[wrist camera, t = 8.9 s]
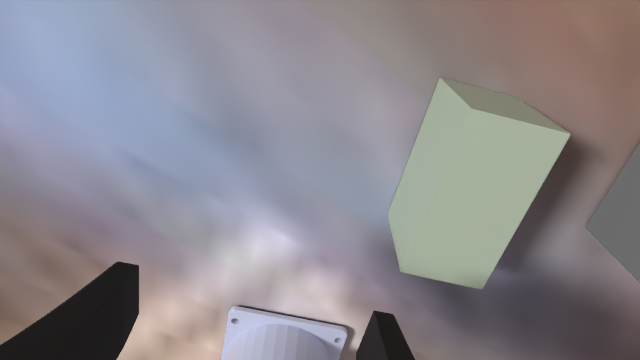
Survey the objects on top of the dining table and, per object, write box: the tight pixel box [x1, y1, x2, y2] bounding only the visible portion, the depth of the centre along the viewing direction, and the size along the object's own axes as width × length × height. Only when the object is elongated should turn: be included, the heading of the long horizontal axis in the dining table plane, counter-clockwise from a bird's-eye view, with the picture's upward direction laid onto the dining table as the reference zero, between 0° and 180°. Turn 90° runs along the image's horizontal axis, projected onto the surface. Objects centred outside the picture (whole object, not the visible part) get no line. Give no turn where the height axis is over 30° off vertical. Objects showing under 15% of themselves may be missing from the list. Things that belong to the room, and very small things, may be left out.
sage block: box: [388, 78, 571, 290], centre depth 19 cm, size 8×4×5 cm, turn 166°
